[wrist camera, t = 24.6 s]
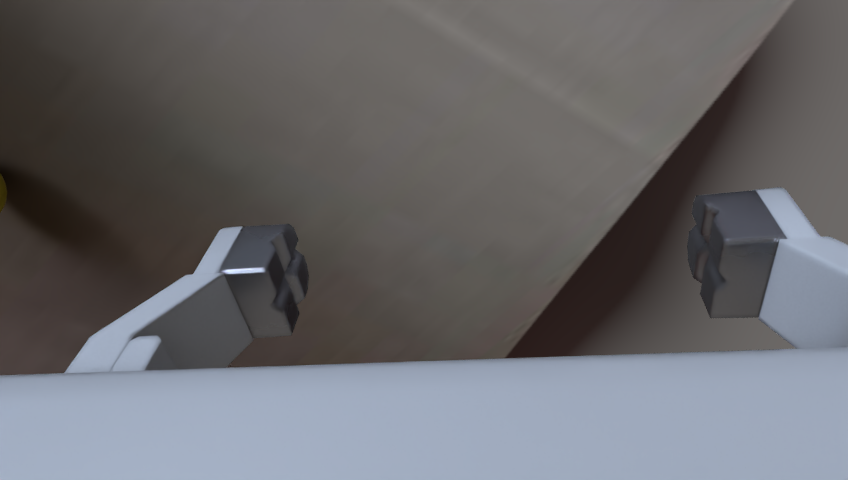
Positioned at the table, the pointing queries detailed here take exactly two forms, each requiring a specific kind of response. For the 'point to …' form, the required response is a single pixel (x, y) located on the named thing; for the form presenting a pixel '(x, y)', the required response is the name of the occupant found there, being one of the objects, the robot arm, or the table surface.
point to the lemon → (2, 193)
